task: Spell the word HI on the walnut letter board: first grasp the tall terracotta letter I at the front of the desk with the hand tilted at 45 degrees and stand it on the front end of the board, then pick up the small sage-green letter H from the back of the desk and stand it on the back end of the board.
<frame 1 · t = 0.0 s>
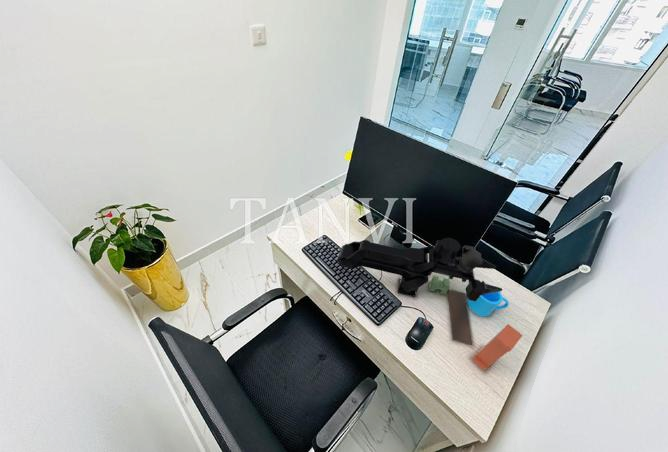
hand: (498, 278, 82), 17 cm above the table, tool horizontal, fingers open, 9 cm apart
mug: (484, 307, 93), on the table
letter I: (483, 358, 79), on the table
letter board: (458, 315, 89), on the table
letter H: (437, 288, 97), on the table
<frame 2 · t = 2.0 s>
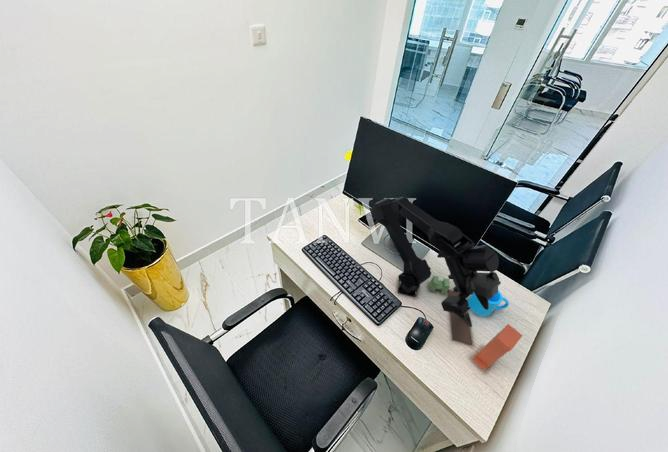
hand: (478, 317, 74), 14 cm above the table, tool tilted 45°, fingers open, 9 cm apart
nothing on the table moved.
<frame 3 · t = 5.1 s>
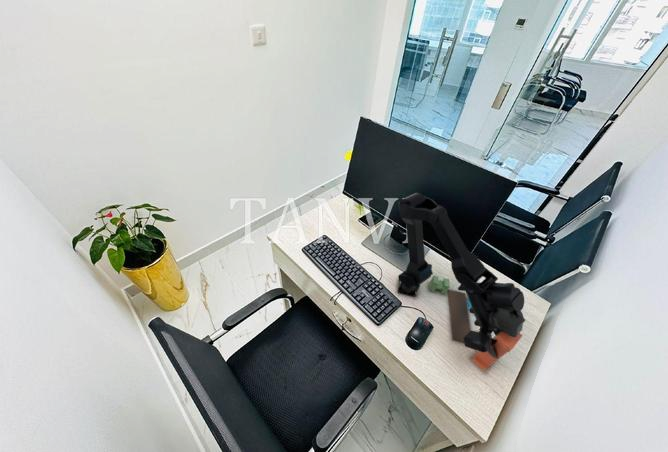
hand: (500, 352, 73), 8 cm above the table, tool tilted 45°, fingers closed on letter I, 5 cm apart
letter I: (483, 358, 79), on the table, touching gripper
everything else where it was.
when the fingers open (9 cm above the table, at t = 9.3 s): letter I stays where it is, resting on letter board.
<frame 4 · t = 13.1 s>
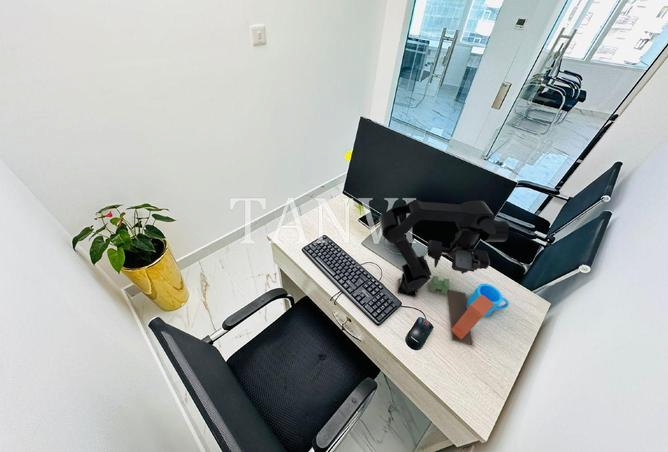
hand: (448, 269, 89), 12 cm above the table, tool pointing down, fingers open, 9 cm apart
letter I: (461, 329, 85), point 1 cm above the table, touching letter board
everything else where it was.
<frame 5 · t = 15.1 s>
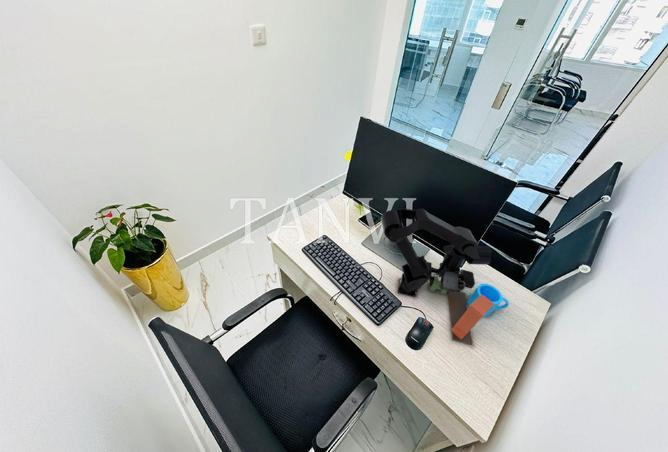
hand: (437, 287, 97), 1 cm above the table, tool pointing down, fingers closed on letter H, 6 cm apart
letter H: (437, 288, 97), on the table, touching gripper
everything else where it was.
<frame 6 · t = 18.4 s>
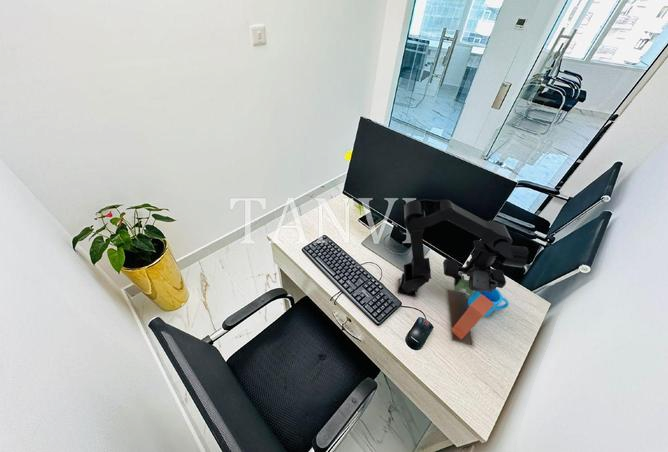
hand: (463, 286, 91), 7 cm above the table, tool pointing down, fingers closed on letter H, 6 cm apart
mug: (484, 307, 93), on the table, touching gripper
letter H: (462, 288, 91), point 6 cm above the table, touching gripper
everything else where it was.
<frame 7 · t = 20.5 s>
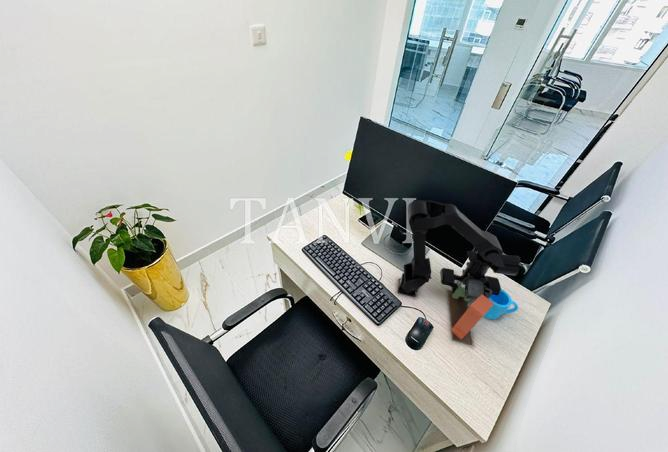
hand: (461, 294, 94), 2 cm above the table, tool pointing down, fingers closed on letter H, 6 cm apart
mug: (492, 310, 92), on the table, touching gripper
letter H: (460, 295, 95), point 1 cm above the table, touching gripper, letter board
everything else where it was.
when the fingers open (2 cm above the table, at t = 20.9 s): letter H stays where it is, resting on letter board.
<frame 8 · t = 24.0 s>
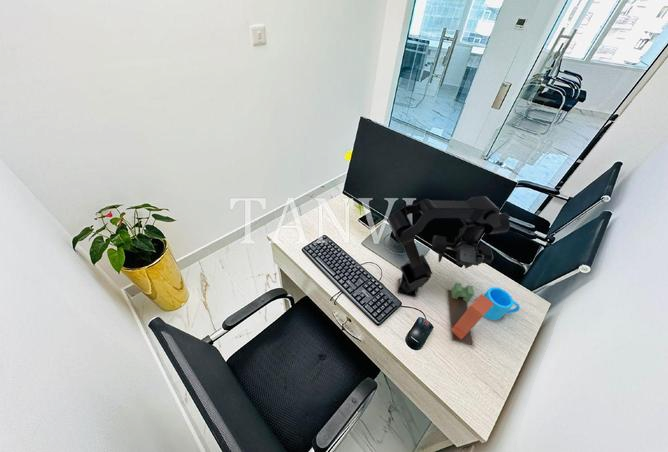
hand: (452, 264, 91), 12 cm above the table, tool pointing down, fingers open, 9 cm apart
mug: (494, 311, 92), on the table
letter H: (459, 295, 95), point 1 cm above the table, touching letter board
everything else where it was.
at the end: letter I 0.3 cm from the target spot on the letter board, point 0.8 cm above the letter board's base; letter I tilted 0°; letter H 1.0 cm from the target spot on the letter board, point 0.8 cm above the letter board's base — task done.
